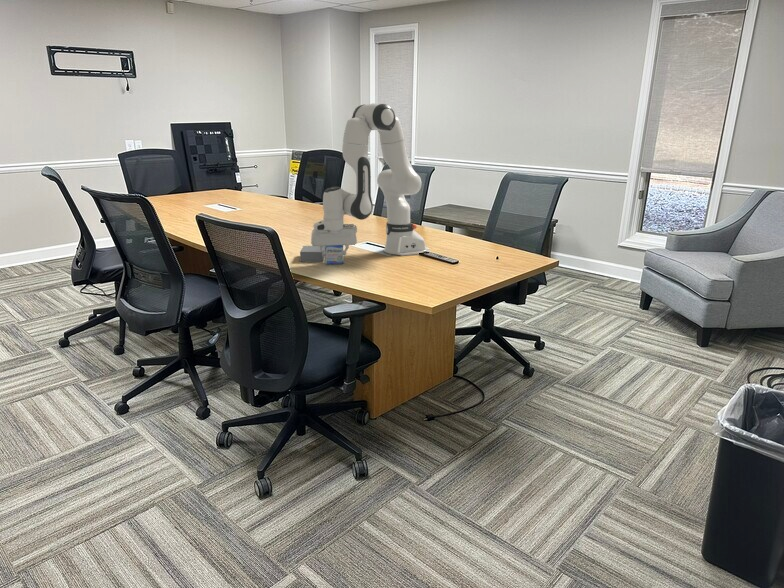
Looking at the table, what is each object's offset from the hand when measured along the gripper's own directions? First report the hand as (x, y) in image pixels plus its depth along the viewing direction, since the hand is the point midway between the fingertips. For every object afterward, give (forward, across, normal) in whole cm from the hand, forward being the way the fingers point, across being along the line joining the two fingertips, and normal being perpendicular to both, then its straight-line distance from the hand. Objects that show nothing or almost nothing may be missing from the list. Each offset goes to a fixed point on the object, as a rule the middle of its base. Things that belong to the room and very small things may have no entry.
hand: (334, 255), depth 245 cm
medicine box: (+4, 0, 0) cm, 4 cm away
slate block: (+4, +9, -10) cm, 14 cm away
